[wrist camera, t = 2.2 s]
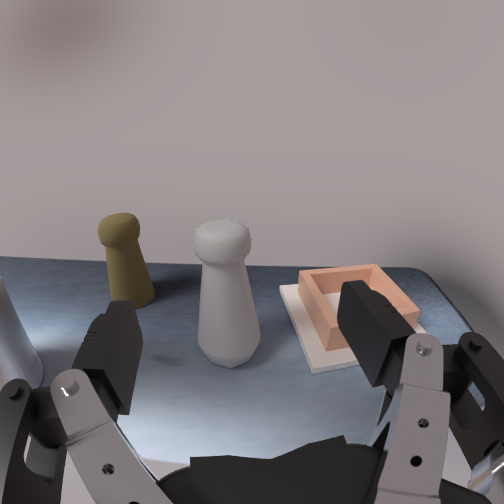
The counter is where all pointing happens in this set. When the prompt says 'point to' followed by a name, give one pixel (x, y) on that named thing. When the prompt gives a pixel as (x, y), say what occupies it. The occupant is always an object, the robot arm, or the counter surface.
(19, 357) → the robot arm
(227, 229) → the salt shaker
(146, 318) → the counter surface
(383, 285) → the tray
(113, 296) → the pepper shaker
